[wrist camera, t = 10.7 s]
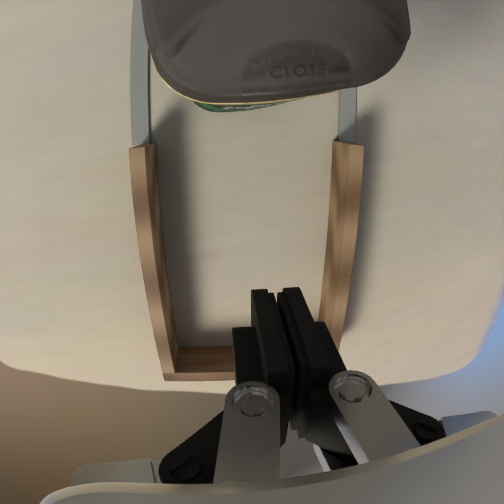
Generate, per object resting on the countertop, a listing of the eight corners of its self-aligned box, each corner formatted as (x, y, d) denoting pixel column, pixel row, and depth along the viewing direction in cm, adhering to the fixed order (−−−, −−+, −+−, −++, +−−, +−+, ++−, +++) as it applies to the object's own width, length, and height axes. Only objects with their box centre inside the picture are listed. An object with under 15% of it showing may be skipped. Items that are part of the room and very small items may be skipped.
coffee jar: (192, 122, 25) (128, 125, 8) (178, 35, 22) (108, -87, 4) (308, 105, 25) (449, 94, 8) (293, 20, 22) (397, -96, 5)
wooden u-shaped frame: (142, 144, 25) (128, 148, 21) (345, 141, 26) (364, 145, 23) (169, 355, 34) (164, 381, 30) (324, 347, 35) (334, 371, 31)
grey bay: (134, -7, 19) (134, -7, 19) (351, -4, 21) (352, -5, 21) (133, 145, 25) (132, 145, 25) (353, 142, 26) (354, 142, 26)
